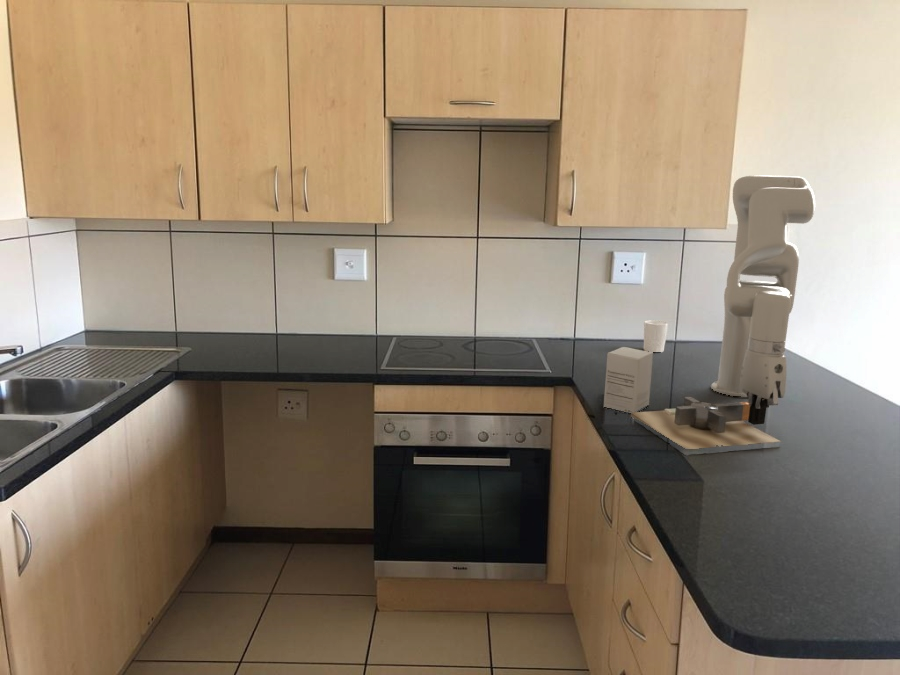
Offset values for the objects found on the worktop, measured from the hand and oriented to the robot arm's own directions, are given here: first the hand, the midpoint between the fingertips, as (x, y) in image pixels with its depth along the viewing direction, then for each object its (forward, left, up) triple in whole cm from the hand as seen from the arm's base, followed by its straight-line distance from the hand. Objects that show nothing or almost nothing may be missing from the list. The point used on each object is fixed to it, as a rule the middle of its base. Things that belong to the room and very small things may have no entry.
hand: (756, 423), depth 160 cm
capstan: (+7, -6, -2) cm, 9 cm away
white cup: (-21, -80, -4) cm, 83 cm away
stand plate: (+10, -6, -4) cm, 12 cm away
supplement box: (+19, -26, -4) cm, 32 cm away
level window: (+10, -16, -2) cm, 19 cm away
